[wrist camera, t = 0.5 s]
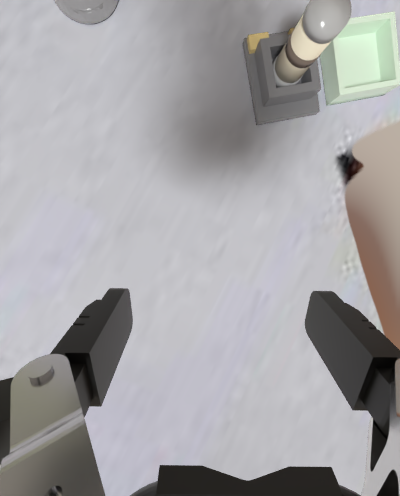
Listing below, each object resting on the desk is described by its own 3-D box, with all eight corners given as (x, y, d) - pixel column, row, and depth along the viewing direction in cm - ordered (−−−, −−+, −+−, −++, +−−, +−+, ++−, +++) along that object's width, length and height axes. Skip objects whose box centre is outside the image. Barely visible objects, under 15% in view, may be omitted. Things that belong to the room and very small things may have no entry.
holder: (242, 43, 35) (249, 23, 31) (304, 33, 36) (318, 13, 32) (256, 125, 36) (264, 114, 33) (315, 114, 37) (330, 103, 34)
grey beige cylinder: (266, 62, 35) (307, -13, 24) (295, 57, 35) (348, -19, 24) (271, 94, 35) (313, 35, 24) (299, 89, 35) (353, 29, 25)
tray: (317, 38, 36) (330, 21, 33) (376, 29, 37) (394, 11, 34) (326, 105, 37) (340, 95, 34) (383, 95, 38) (401, 83, 35)
